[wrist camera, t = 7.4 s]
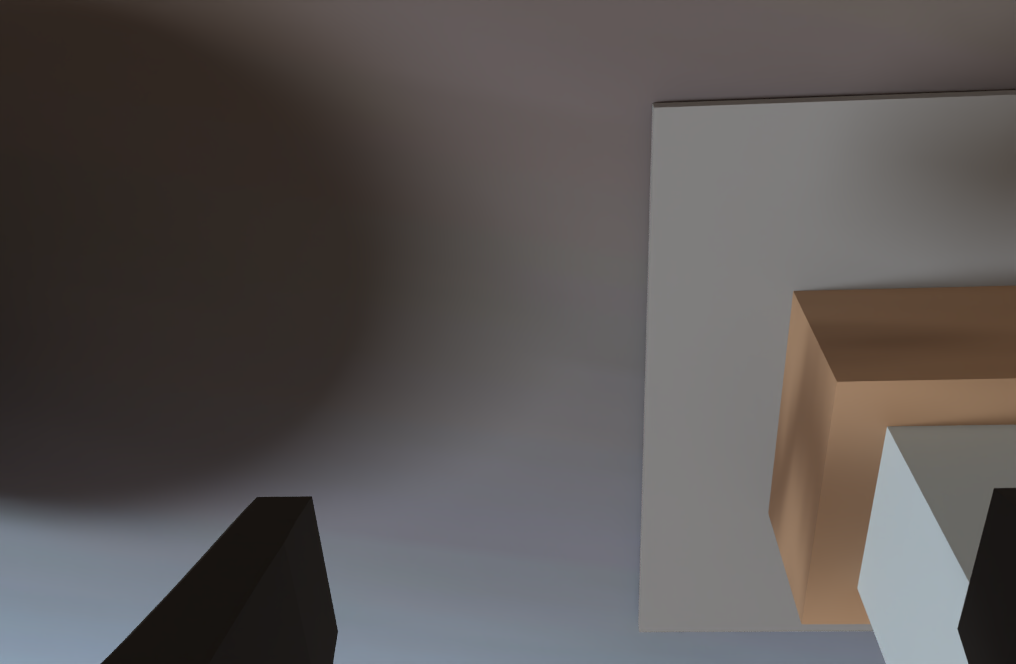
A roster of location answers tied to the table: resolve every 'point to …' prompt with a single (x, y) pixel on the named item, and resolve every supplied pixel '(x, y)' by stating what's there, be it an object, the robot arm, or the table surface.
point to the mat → (785, 303)
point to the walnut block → (873, 415)
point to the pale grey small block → (929, 534)
